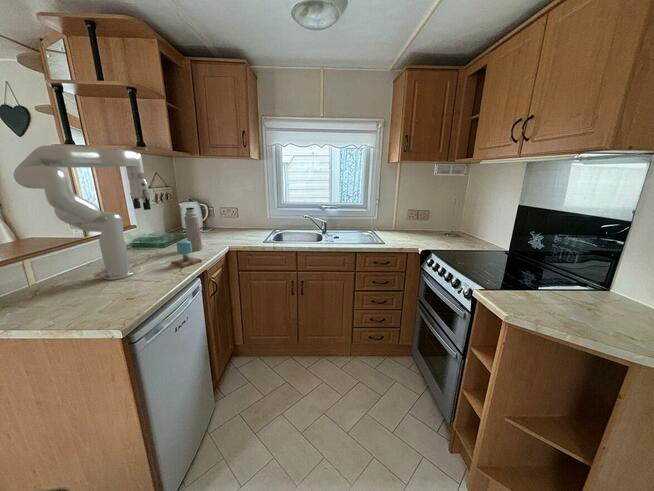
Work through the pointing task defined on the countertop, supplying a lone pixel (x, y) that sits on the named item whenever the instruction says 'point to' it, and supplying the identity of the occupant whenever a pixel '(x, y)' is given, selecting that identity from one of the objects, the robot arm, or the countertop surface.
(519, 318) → the countertop surface
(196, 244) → the thermos bottle
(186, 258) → the post
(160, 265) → the countertop surface
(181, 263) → the post board
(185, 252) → the teal block
